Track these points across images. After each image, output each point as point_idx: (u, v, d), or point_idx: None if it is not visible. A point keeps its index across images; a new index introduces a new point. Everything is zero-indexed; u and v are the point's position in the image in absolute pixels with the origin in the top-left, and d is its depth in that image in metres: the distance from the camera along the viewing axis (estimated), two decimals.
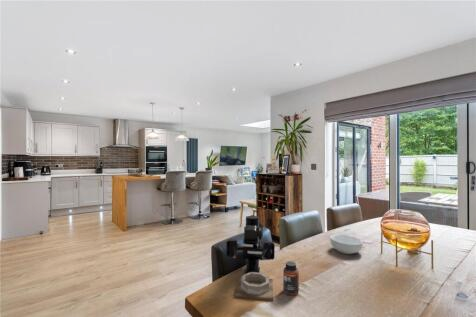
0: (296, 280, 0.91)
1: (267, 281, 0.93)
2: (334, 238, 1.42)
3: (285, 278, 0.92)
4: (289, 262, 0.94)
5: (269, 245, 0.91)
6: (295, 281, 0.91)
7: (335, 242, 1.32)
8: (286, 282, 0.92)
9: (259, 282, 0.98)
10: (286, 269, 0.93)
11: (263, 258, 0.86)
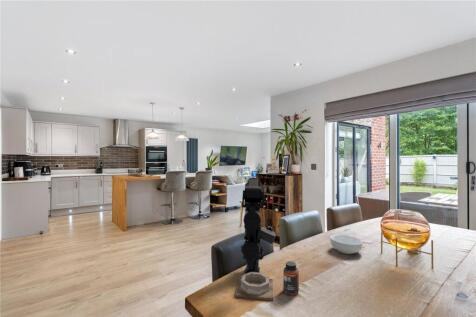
0: (296, 280, 0.91)
1: (267, 281, 0.93)
2: (334, 238, 1.42)
3: (285, 278, 0.92)
4: (289, 262, 0.94)
5: None
6: (295, 281, 0.91)
7: (335, 242, 1.32)
8: (286, 282, 0.92)
9: (259, 282, 0.98)
10: (286, 269, 0.93)
11: None
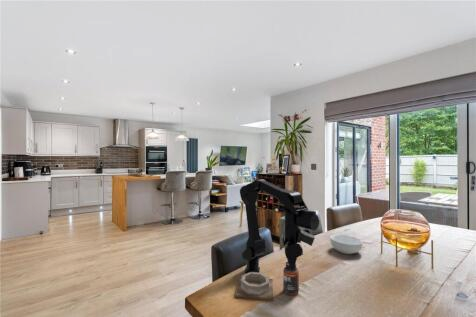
0: (296, 280, 0.91)
1: (267, 281, 0.93)
2: (334, 238, 1.42)
3: (285, 278, 0.92)
4: None
5: None
6: (295, 281, 0.91)
7: (335, 242, 1.32)
8: (286, 282, 0.92)
9: (259, 282, 0.98)
10: (286, 269, 0.93)
11: None
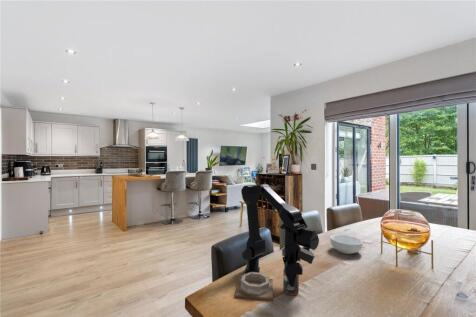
0: (296, 280, 0.91)
1: (267, 281, 0.93)
2: (334, 238, 1.42)
3: (285, 278, 0.92)
4: None
5: None
6: (295, 281, 0.91)
7: (335, 242, 1.32)
8: (286, 282, 0.92)
9: (259, 282, 0.98)
10: None
11: None
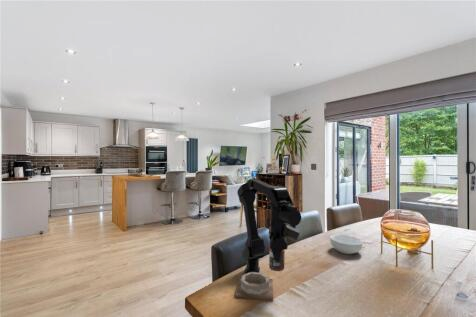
0: (282, 256, 0.92)
1: (267, 281, 0.93)
2: (334, 238, 1.42)
3: (271, 255, 0.93)
4: None
5: None
6: (281, 257, 0.92)
7: (335, 242, 1.32)
8: (272, 258, 0.92)
9: (259, 282, 0.98)
10: None
11: None
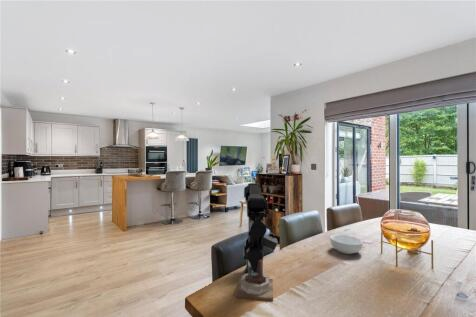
0: (259, 266, 0.93)
1: (267, 281, 0.93)
2: (334, 238, 1.42)
3: (249, 264, 0.94)
4: None
5: None
6: (258, 266, 0.93)
7: (335, 242, 1.32)
8: (250, 268, 0.94)
9: (259, 282, 0.98)
10: None
11: None
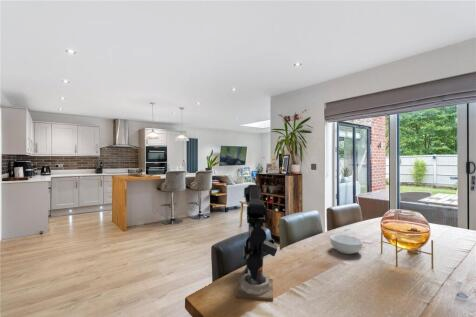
0: (259, 274, 0.93)
1: (267, 281, 0.93)
2: (334, 238, 1.42)
3: (249, 273, 0.94)
4: None
5: None
6: (258, 275, 0.93)
7: (335, 242, 1.32)
8: (250, 276, 0.94)
9: None
10: None
11: None
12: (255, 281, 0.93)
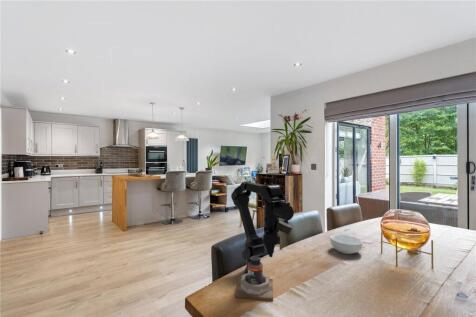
0: (259, 274, 0.93)
1: (267, 281, 0.93)
2: (334, 238, 1.42)
3: (249, 273, 0.94)
4: (254, 257, 0.96)
5: None
6: (258, 275, 0.93)
7: (335, 242, 1.32)
8: (250, 276, 0.94)
9: None
10: (250, 264, 0.95)
11: None
12: (255, 281, 0.93)
